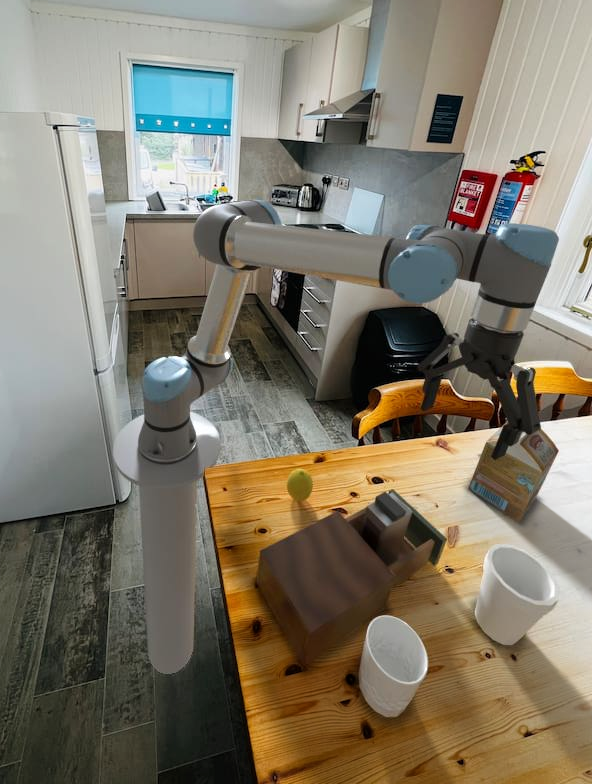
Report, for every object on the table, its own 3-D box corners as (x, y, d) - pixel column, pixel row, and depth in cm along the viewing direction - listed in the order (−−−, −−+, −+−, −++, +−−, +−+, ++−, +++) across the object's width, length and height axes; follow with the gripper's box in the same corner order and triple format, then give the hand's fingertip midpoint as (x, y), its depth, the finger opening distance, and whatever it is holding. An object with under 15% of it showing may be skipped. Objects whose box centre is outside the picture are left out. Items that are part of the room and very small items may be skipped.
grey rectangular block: (354, 551, 74) (367, 500, 69) (379, 536, 78) (393, 487, 72) (373, 573, 71) (388, 521, 66) (398, 557, 74) (414, 506, 69)
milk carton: (486, 468, 98) (511, 406, 91) (535, 498, 91) (567, 432, 83) (468, 488, 92) (493, 423, 85) (519, 521, 85) (551, 453, 77)
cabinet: (331, 541, 78) (338, 510, 75) (385, 608, 67) (395, 576, 64) (256, 582, 70) (259, 550, 67) (303, 667, 59) (311, 633, 56)
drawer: (390, 509, 85) (396, 486, 82) (442, 560, 75) (451, 536, 72) (327, 544, 77) (332, 520, 74) (376, 607, 67) (384, 581, 64)
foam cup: (507, 595, 70) (532, 545, 65) (543, 658, 62) (576, 606, 57) (454, 592, 70) (475, 542, 65) (483, 654, 62) (510, 603, 57)
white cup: (380, 644, 63) (393, 605, 59) (422, 702, 56) (441, 663, 52) (342, 672, 59) (354, 632, 55) (384, 738, 53) (400, 698, 49)
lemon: (287, 509, 85) (291, 481, 81) (283, 487, 90) (287, 461, 87) (312, 509, 85) (317, 481, 82) (307, 488, 90) (311, 461, 87)
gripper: (604, 356, 54) (547, 472, 62) (441, 293, 74) (415, 387, 82) (577, 368, 51) (521, 489, 59) (414, 299, 71) (389, 396, 79)
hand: (459, 430), depth 71 cm, fingers open, 13 cm apart
